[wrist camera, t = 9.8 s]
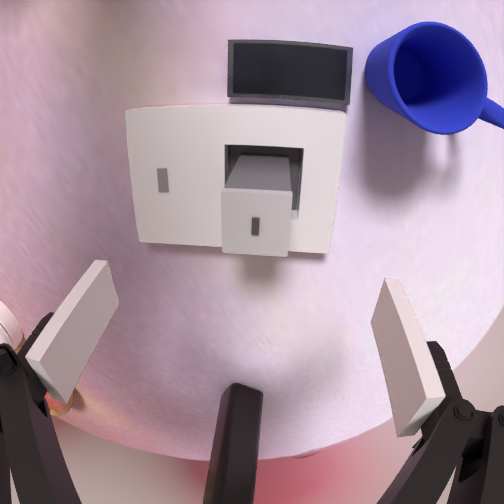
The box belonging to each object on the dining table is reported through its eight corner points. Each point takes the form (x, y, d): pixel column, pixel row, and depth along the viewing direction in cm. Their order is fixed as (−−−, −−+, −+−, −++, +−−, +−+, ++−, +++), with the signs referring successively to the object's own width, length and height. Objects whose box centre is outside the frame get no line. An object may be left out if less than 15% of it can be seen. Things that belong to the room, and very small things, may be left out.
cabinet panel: (135, 107, 29) (124, 111, 26) (341, 110, 28) (346, 113, 25) (147, 231, 36) (138, 242, 34) (326, 241, 35) (329, 254, 32)
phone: (229, 40, 25) (228, 39, 24) (350, 48, 24) (353, 47, 23) (228, 96, 28) (227, 96, 27) (347, 103, 27) (349, 104, 26)
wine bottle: (249, 406, 52) (230, 570, 26) (219, 396, 51) (189, 564, 25) (265, 391, 49) (249, 571, 23) (233, 380, 48) (204, 566, 22)
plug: (240, 152, 30) (220, 192, 21) (288, 154, 30) (292, 196, 20) (240, 196, 33) (221, 254, 23) (285, 199, 32) (287, 258, 23)
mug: (449, 142, 28) (502, 172, 19) (344, 97, 27) (373, 108, 18) (471, 73, 23) (530, 82, 15) (367, 21, 23) (404, 1, 14)
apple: (38, 365, 55) (21, 392, 48) (68, 372, 54) (51, 402, 47) (55, 390, 59) (41, 416, 52) (84, 398, 58) (71, 426, 51)
